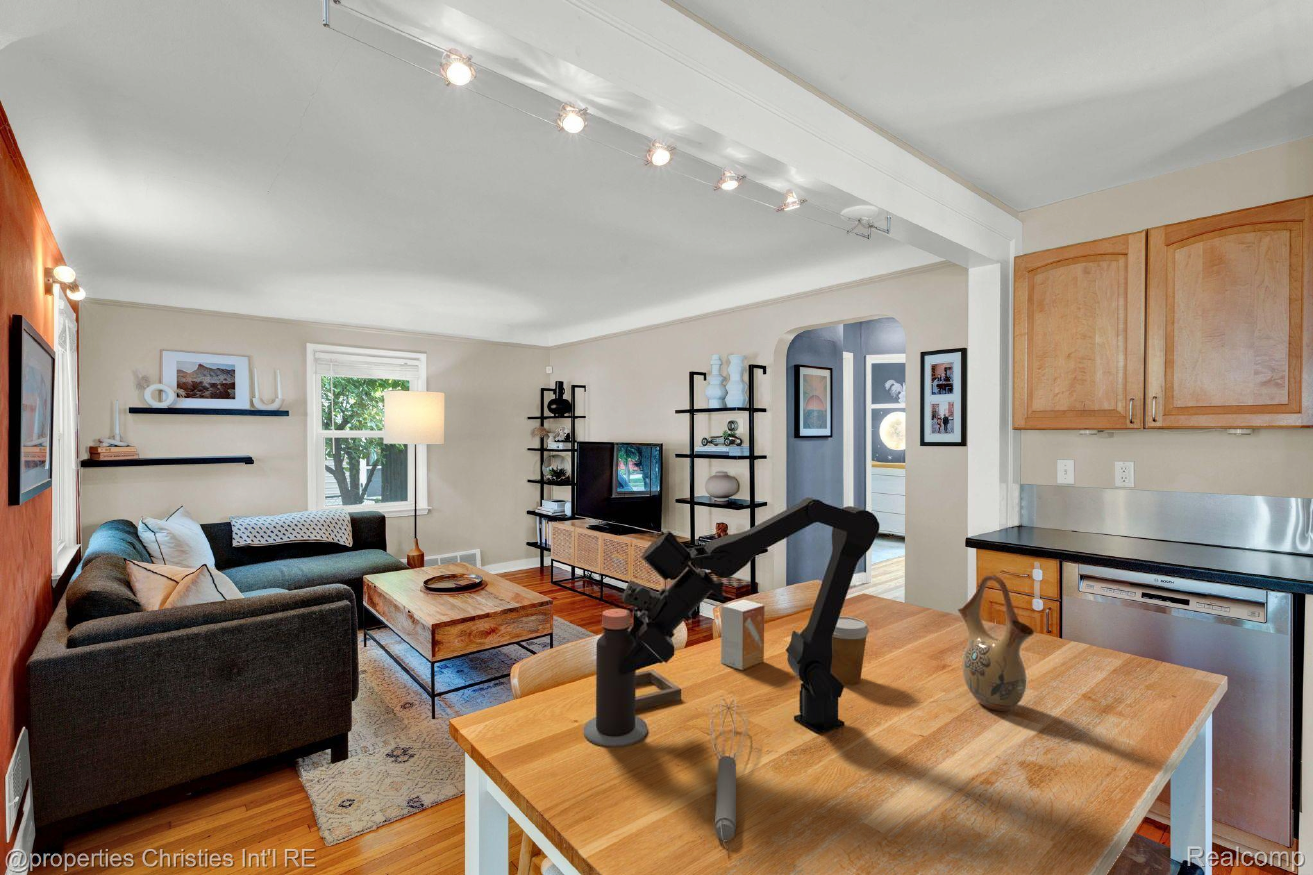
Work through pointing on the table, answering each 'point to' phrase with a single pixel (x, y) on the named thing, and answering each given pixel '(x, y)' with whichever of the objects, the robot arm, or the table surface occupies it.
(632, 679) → the vinegar
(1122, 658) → the table surface
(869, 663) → the table surface
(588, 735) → the slate coaster
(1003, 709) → the ceramic vessel
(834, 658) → the disposable coffee cup
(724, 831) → the kitchen whisk
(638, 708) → the bottle caddy
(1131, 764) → the table surface
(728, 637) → the small box
